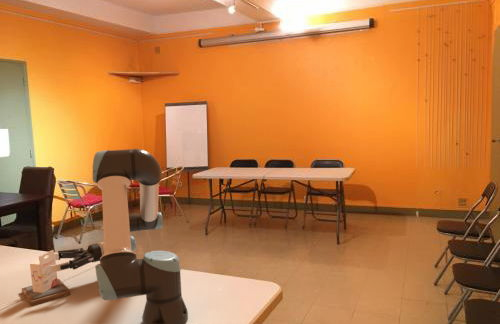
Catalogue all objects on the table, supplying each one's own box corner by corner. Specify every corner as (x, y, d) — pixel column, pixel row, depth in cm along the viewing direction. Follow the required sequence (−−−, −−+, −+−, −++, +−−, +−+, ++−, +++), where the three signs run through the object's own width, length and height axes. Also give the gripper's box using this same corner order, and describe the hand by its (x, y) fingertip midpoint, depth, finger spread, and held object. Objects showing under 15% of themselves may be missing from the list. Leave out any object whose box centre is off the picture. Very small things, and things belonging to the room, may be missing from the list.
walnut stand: (70, 294, 164) (70, 289, 164) (31, 305, 155) (30, 300, 155) (59, 282, 176) (58, 277, 176) (22, 292, 167) (21, 287, 167)
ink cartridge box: (47, 283, 170) (44, 248, 168) (58, 284, 169) (55, 249, 167) (32, 292, 162) (28, 255, 160) (42, 293, 161) (39, 256, 159)
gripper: (111, 268, 169) (55, 283, 156) (89, 253, 188) (38, 265, 175) (110, 250, 168) (54, 263, 155) (88, 237, 187) (37, 248, 174)
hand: (45, 264), depth 165 cm, fingers open, 13 cm apart
